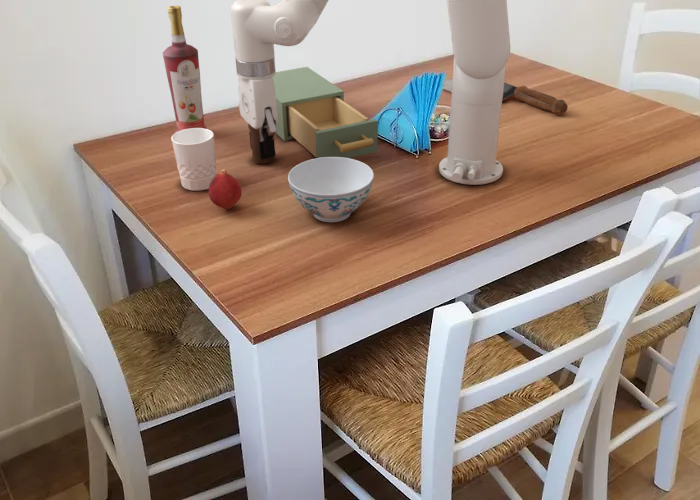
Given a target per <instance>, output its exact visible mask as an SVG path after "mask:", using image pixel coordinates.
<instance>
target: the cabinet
mask: <svg viewBox="0 0 700 500" xmlns="http://www.w3.org/2000/svg"><path fill="white" fill-rule="evenodd" d="M273 81H274V87H275V94H276V103H277V116H278V121H277V124H276V125H275V128H276V133H275V135H277V136H278V137H280V138H281V139H282V141H284V142H285V141H291V140H296V139H295V138H294V137H293V136H292V135H290V134H289V133H288V131H287V115H286V106H288V105H294V104H299V103H304V102H309V101H315V100H320V99H325V98H330V97H336V96H337V97H338V98H339V99H341V100H342V101H344V102H345V91H344V90H342V89H341V88H340V87H338V86H337V85H335V84H333V83H332V82H331V81H329V80H328V79H326V78H325V77H323V76H321V74H318V73H317V72H316V71H314V70H312V69H311V68H310V67H308V66H303V67H298V68H292V69H286V70H281V71H280V70H279V71H276V74H275V75H274V76H273Z"/></svg>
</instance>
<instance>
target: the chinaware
mask: <svg viewBox="0 0 700 500" xmlns="http://www.w3.org/2000/svg"><path fill="white" fill-rule="evenodd" d="M374 177H375V174H374V170H373V169H372V167H370V166H369V165H368V164H366V163H364V162H362V161H360V160H358V159H354V158H343V157H323V158H316V157H315V158H312V159H308V160H305V161H302V162H300V163H298V164H296V165H295V166H294V167H293V168H291V169H290V170H289V172H288V175H287V180H288V184H289V187H290V190H291V193H292V195H293V196H294V198H295V199H296V201H297V202H298V203H299V204H300V206H301V207H302V208H304V209H305V210H306V211H308V212H309V213H311V214H313V216H314V218H315V219H317V220H319V221H321V222H326V223H338V222H342V221H344V220H347V219H348V218H349V217H350V216H351V213H353V212H355V211H356V210H357V209H358V208H359V207H361V205H363V204H364V202H365V201H366V199H367V198H368V196H369V194H370V192H371V189H372V187H373V183H374Z"/></svg>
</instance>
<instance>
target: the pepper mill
mask: <svg viewBox="0 0 700 500" xmlns="http://www.w3.org/2000/svg"><path fill="white" fill-rule="evenodd" d="M263 125H266V122H264V123H263ZM265 131H267V128H266V129H263V134H264V132H265ZM249 132H250V134H251V145H252V149H251V156H252V161H253V162H254V163H256V164H268V163H272V162H273V161H274V160H275V157H271V158H267V159H261V158H260V154H259V143H258V141H259V140H260V137H259V130H258V129H255V128H253V127H252V126H251V125H250V131H249ZM251 145H250V146H251Z"/></svg>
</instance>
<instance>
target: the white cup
mask: <svg viewBox="0 0 700 500" xmlns="http://www.w3.org/2000/svg"><path fill="white" fill-rule="evenodd" d="M170 138H171V145H172V149H173V154H174V158H175V163H176V167H177V171H178V173H179V178H180V183H181V186H182V187H183V188H184V189H185V190H188V191H193V192H196V191H197V192H199V191H204V190H209V185H210V183H211V181H212V180H213V178H214V177H215V176H216V175H217V165H216V164H217V159H216V148H215V147H216V146H215V134H214V132H213V131H212V130H211V129H208V128H207V129H204V128H190V129H184V130H181V131H178V132H176V131H175V133H173V134H172V135H171V137H170Z"/></svg>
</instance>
